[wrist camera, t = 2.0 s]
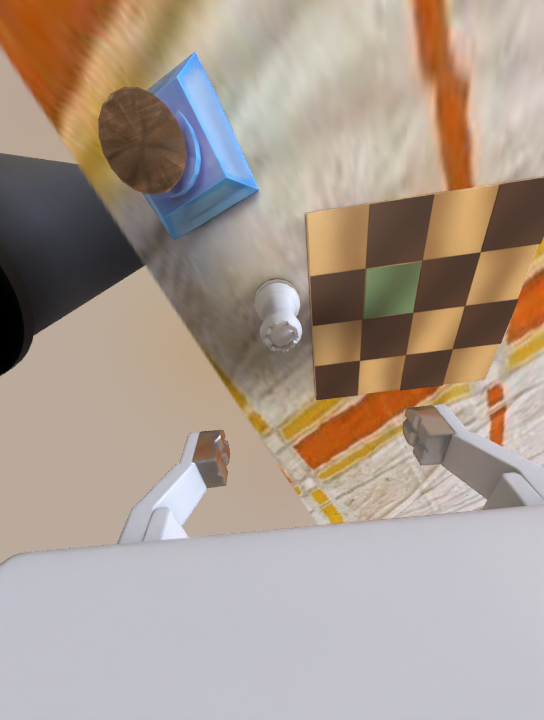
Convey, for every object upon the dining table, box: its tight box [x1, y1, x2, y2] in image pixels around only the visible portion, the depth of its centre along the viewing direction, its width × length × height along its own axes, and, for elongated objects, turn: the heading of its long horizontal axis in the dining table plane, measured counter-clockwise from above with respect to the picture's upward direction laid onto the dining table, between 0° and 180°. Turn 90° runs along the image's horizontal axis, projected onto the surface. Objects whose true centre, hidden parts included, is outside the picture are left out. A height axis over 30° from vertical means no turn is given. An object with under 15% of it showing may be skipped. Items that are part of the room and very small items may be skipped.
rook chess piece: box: [254, 279, 302, 353], centre depth 22 cm, size 4×4×8 cm
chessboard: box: [305, 176, 544, 400], centre depth 26 cm, size 20×20×1 cm
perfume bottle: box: [98, 52, 259, 240], centre depth 15 cm, size 6×6×12 cm
